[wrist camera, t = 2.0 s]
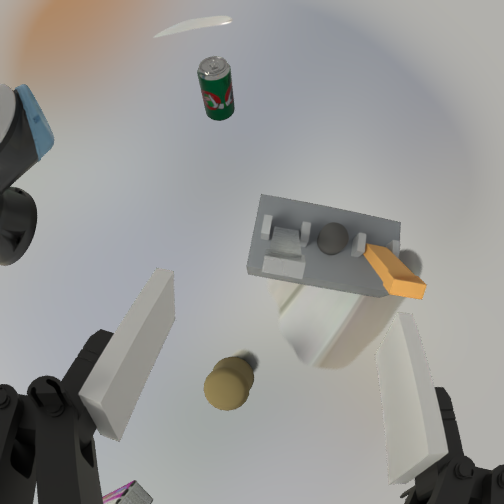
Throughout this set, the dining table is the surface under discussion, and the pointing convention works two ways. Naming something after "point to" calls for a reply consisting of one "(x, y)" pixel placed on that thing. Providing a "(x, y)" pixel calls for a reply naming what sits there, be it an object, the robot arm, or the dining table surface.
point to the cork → (229, 383)
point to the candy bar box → (128, 495)
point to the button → (332, 238)
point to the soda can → (216, 87)
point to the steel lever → (284, 254)
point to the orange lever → (394, 273)
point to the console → (317, 263)
